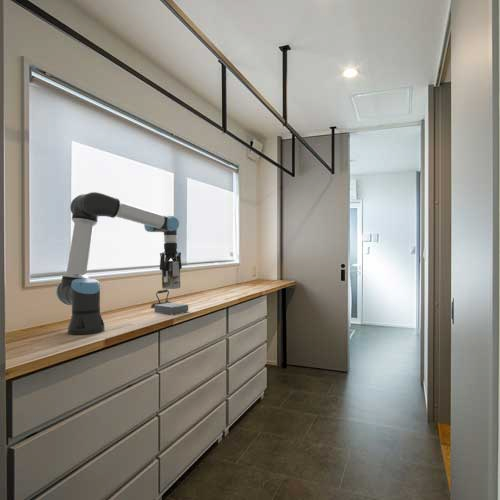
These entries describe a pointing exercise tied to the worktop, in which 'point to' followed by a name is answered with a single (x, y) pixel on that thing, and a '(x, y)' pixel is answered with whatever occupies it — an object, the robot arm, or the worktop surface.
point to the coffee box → (172, 275)
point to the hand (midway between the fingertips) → (171, 281)
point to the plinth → (171, 308)
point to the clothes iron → (159, 300)
